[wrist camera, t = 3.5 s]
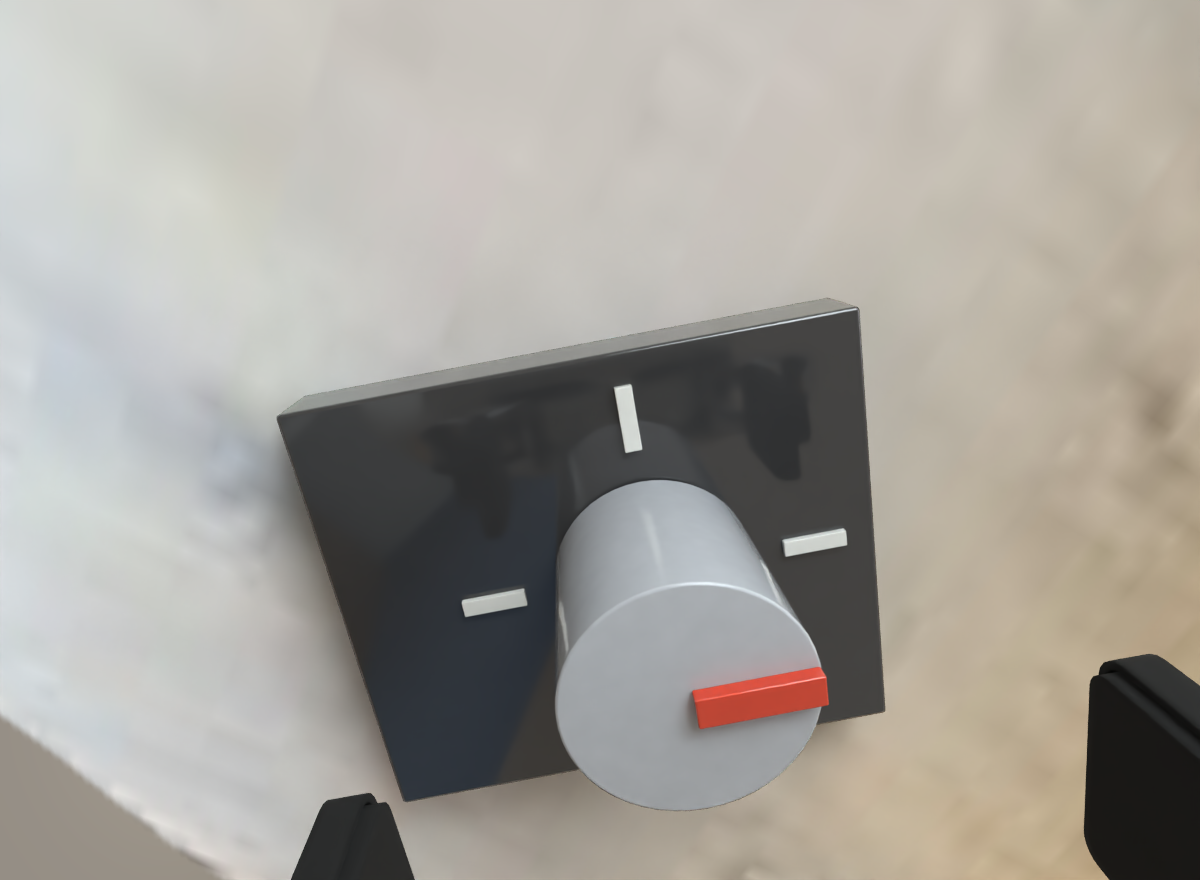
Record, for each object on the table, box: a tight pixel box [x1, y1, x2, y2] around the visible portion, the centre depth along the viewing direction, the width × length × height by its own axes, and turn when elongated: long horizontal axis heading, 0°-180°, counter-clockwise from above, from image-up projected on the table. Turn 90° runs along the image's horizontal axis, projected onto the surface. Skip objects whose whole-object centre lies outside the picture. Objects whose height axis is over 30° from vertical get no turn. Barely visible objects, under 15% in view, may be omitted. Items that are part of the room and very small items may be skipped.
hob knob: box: [555, 480, 829, 811], centre depth 14 cm, size 4×4×5 cm
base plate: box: [277, 298, 885, 802], centre depth 17 cm, size 12×10×3 cm
